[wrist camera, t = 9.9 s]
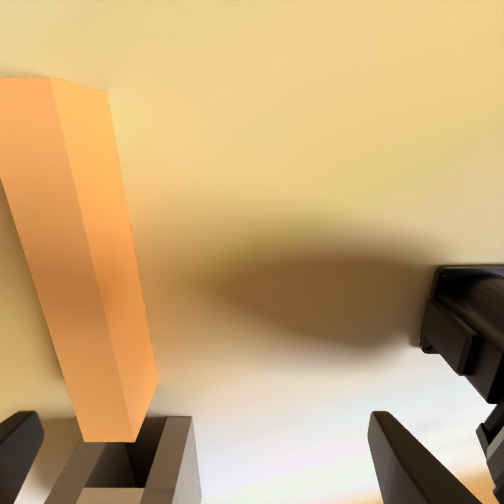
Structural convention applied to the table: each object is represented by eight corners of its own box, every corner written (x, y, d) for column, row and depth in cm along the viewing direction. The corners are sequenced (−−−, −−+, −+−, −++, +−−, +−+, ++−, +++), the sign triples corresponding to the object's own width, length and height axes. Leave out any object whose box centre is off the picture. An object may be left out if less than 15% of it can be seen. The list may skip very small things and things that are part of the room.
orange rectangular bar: (50, 94, 16) (-32, 79, 12) (109, 93, 16) (49, 76, 12) (118, 381, 24) (84, 441, 19) (159, 381, 24) (134, 442, 19)
